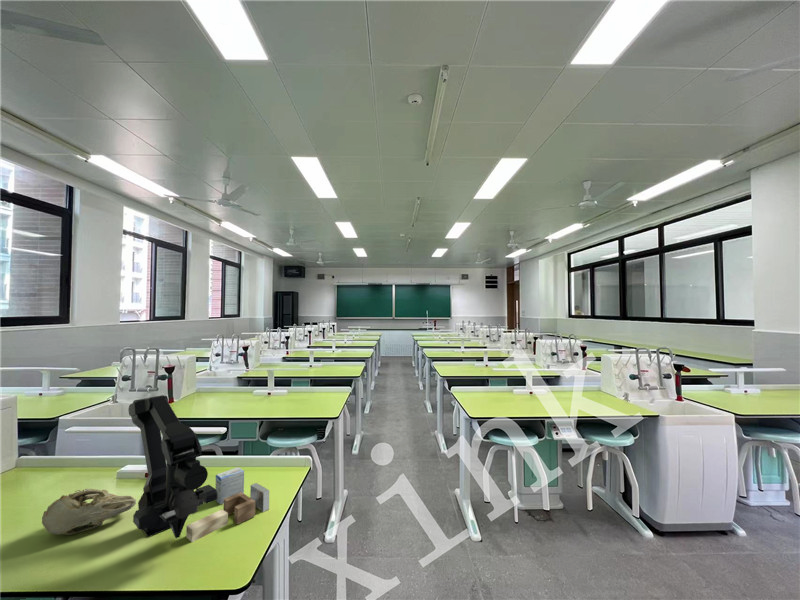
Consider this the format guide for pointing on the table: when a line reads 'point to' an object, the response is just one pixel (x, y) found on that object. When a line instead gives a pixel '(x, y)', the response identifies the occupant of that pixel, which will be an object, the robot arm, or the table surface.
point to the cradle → (240, 507)
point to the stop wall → (260, 496)
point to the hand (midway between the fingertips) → (177, 537)
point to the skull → (84, 510)
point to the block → (206, 525)
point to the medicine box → (229, 483)
